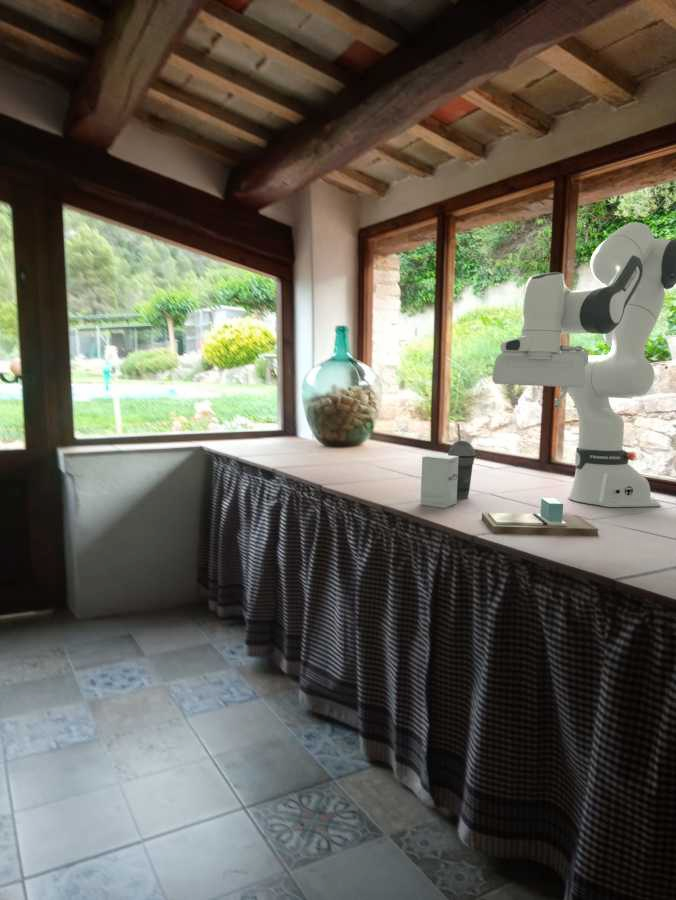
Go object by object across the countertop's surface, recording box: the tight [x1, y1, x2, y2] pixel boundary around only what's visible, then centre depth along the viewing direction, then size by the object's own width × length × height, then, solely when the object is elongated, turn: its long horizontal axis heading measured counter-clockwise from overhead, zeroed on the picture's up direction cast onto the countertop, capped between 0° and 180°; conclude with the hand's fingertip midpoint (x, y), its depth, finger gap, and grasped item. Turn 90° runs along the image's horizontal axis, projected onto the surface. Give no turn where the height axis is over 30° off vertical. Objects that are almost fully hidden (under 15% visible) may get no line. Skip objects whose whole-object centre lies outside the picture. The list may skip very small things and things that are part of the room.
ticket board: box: [481, 512, 599, 537], centre depth 143 cm, size 22×13×2 cm, turn 88°
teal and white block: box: [536, 497, 567, 526], centre depth 143 cm, size 4×9×4 cm, turn 178°
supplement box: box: [419, 453, 459, 509], centre depth 165 cm, size 7×7×13 cm
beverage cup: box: [447, 423, 476, 500], centre depth 175 cm, size 7×7×20 cm
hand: (535, 406), depth 148 cm, fingers open, 8 cm apart
